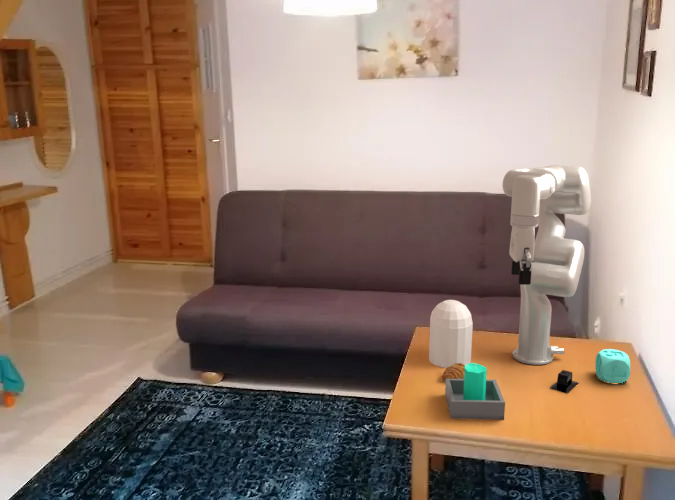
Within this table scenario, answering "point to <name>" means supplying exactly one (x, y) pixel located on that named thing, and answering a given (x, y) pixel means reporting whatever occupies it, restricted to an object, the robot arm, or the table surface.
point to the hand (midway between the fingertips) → (520, 279)
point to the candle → (474, 382)
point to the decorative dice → (612, 366)
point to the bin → (474, 402)
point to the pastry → (454, 372)
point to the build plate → (564, 382)
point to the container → (450, 334)
